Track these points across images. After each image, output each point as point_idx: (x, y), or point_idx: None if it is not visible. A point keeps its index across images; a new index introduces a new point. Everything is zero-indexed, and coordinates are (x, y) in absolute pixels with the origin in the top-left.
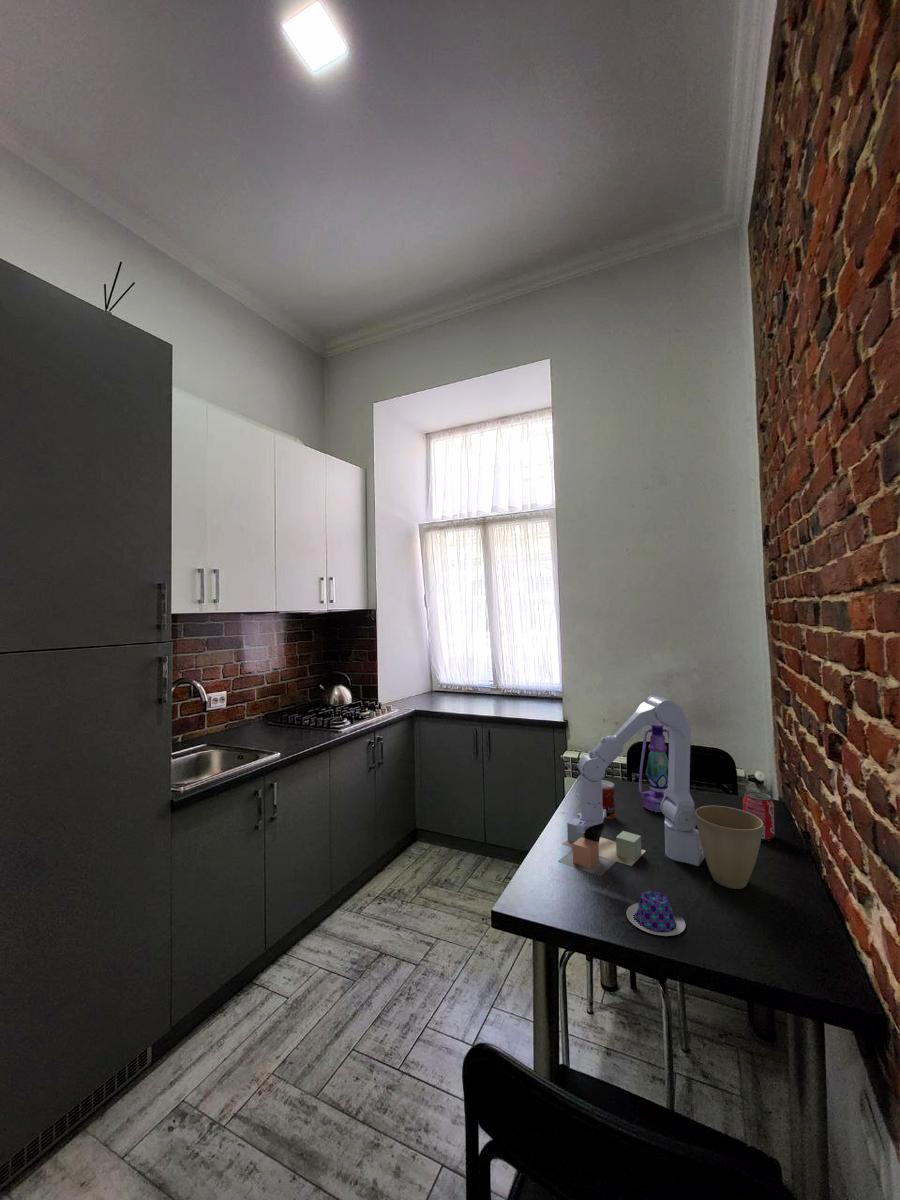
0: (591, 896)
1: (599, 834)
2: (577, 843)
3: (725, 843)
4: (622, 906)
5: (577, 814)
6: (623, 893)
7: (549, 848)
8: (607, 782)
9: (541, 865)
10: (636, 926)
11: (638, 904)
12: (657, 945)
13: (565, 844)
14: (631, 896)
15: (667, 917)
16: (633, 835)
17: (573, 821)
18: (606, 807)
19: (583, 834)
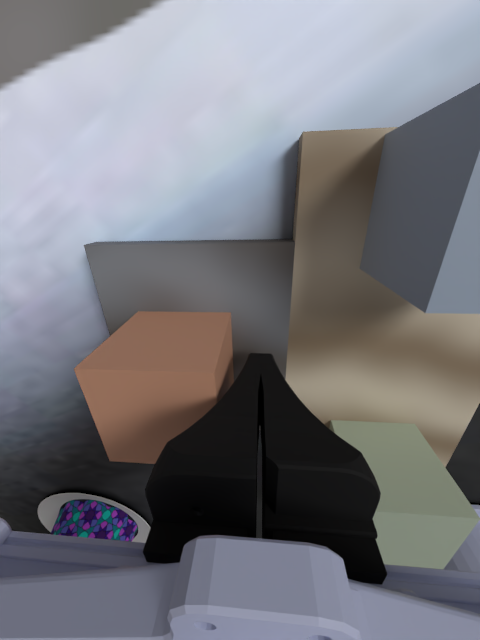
0: (45, 420)
1: (262, 501)
2: (104, 390)
3: None
4: (81, 477)
5: (179, 611)
6: (134, 468)
7: (228, 60)
8: None
9: (20, 168)
10: (38, 512)
11: (113, 502)
12: (37, 531)
13: (307, 161)
14: (138, 482)
15: None
16: (430, 554)
17: None
18: None
19: (210, 409)
